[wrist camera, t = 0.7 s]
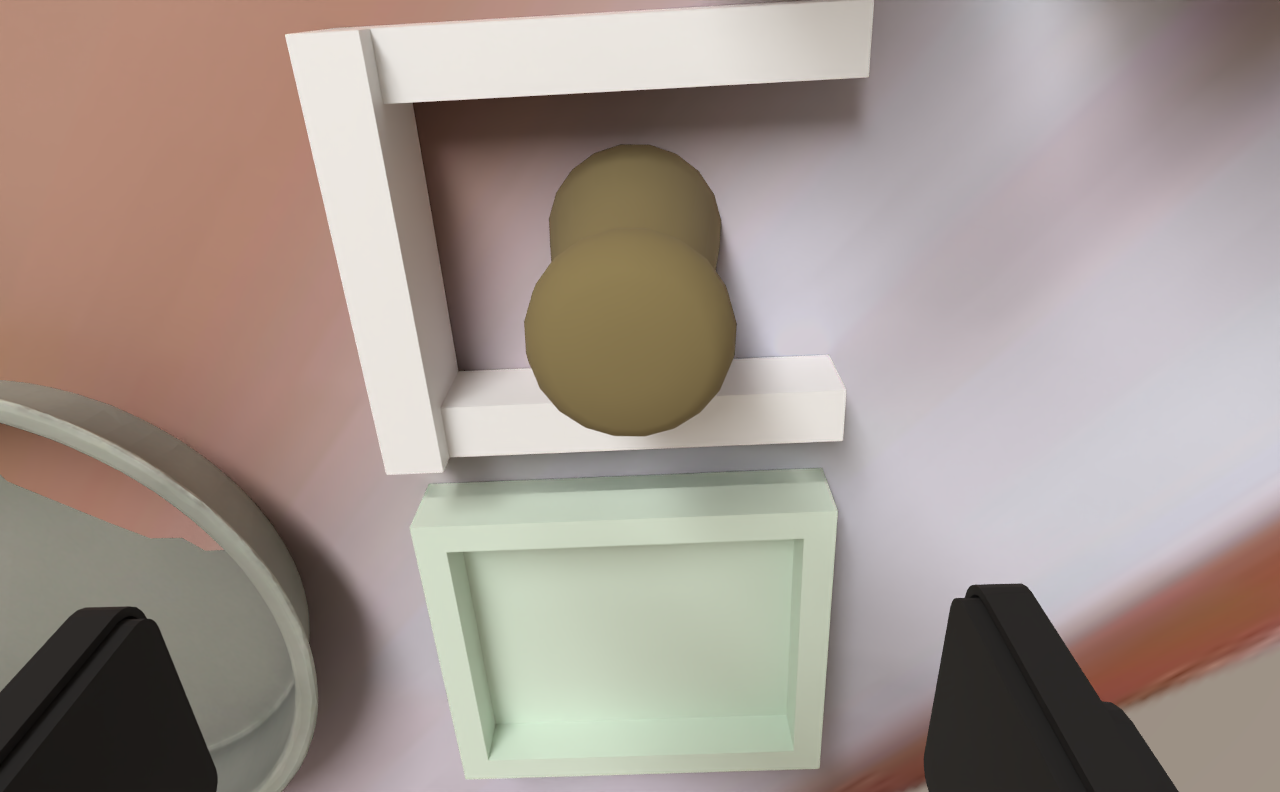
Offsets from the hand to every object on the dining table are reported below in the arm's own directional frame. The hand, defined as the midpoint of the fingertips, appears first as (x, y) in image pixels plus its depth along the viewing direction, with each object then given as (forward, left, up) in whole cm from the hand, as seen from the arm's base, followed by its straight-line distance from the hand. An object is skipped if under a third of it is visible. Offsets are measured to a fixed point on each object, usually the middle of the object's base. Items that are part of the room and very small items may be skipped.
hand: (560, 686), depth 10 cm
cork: (-1, 0, -21) cm, 21 cm away
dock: (-1, 0, -21) cm, 21 cm away
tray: (0, +17, -21) cm, 27 cm away
